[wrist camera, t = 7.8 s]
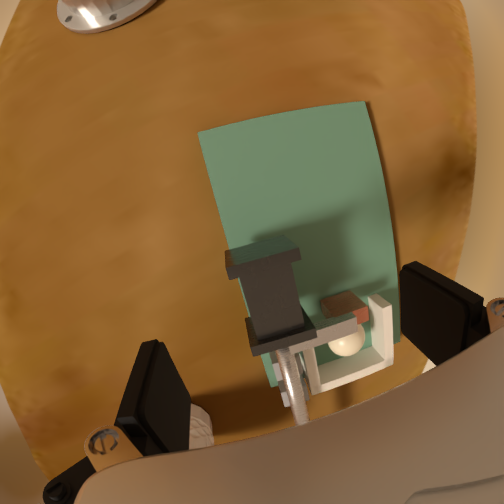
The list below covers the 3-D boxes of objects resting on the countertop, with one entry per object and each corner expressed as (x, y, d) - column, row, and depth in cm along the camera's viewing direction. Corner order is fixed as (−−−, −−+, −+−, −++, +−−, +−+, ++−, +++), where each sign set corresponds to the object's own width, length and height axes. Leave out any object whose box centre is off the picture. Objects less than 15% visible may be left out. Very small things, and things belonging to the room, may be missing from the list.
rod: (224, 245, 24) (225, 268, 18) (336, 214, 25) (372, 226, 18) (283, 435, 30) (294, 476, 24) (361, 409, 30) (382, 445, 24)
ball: (335, 369, 25) (323, 344, 28) (370, 355, 25) (355, 332, 28) (334, 342, 23) (320, 317, 26) (372, 328, 23) (355, 305, 27)
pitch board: (198, 134, 23) (193, 124, 19) (359, 103, 24) (383, 91, 19) (269, 382, 29) (276, 409, 25) (395, 337, 30) (416, 356, 25)
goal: (291, 321, 27) (299, 337, 24) (376, 293, 27) (391, 304, 24) (304, 377, 28) (312, 395, 26) (380, 349, 29) (393, 364, 26)
